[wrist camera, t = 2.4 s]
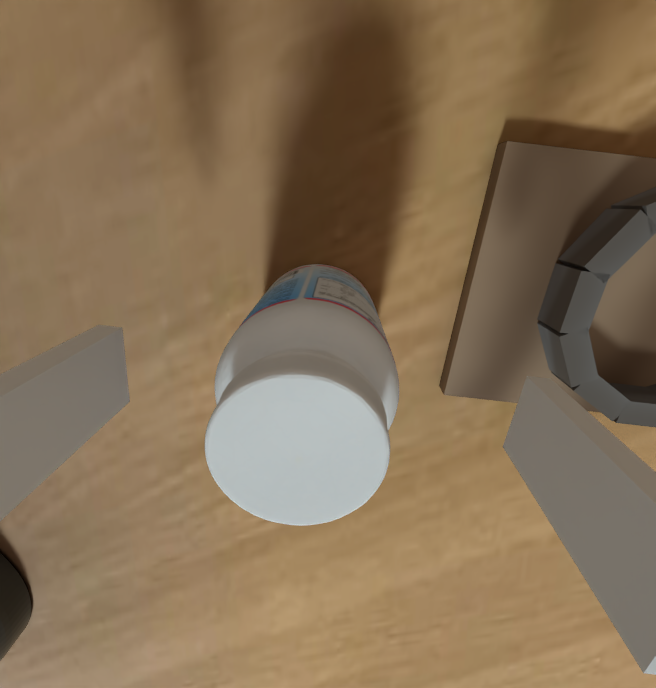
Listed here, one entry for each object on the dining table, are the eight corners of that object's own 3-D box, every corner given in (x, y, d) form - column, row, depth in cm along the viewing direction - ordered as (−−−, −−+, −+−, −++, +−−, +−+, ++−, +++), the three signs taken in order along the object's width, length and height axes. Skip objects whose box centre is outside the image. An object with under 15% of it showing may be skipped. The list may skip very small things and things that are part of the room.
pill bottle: (274, 378, 21) (207, 556, 10) (251, 270, 19) (138, 358, 8) (382, 366, 20) (425, 540, 10) (371, 254, 18) (411, 325, 8)
